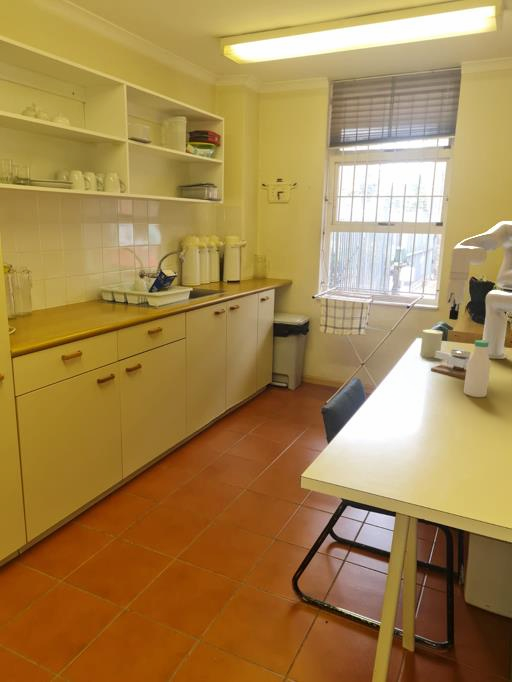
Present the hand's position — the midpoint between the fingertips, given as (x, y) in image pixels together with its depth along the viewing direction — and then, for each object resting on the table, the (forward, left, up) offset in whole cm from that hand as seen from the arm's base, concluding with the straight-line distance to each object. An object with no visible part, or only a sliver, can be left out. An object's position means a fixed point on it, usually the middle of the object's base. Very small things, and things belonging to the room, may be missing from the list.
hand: (453, 319), depth 218 cm
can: (-11, -15, -21) cm, 29 cm away
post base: (+5, +8, -21) cm, 23 cm away
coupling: (+5, +4, -18) cm, 19 cm away
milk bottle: (+28, +27, -21) cm, 44 cm away
